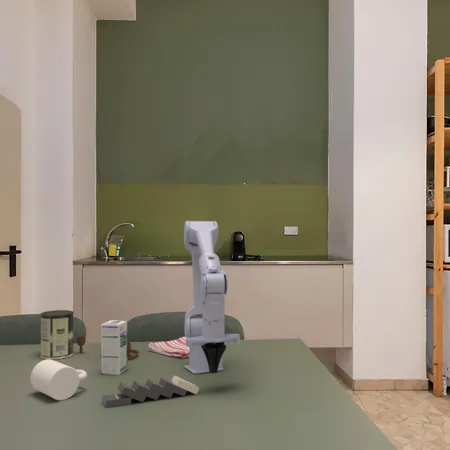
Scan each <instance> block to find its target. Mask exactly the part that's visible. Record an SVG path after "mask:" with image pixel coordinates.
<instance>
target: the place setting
mask: <svg viewBox="0 0 450 450" xmlns="http://www.w3.org/2000/svg"><path fill="white" fill-rule="evenodd" d="M76 338H77V339H76V340H77V342H76V343H77V345H78V346H79V353H80V354H83V351H84V349H83V346H85V345H86V344H85V343H86V337H85V336H78V337H76ZM80 354H79V355H80ZM130 354H132V355H131V356H128V355H130ZM139 354H141V355H143V352H141V351H140V350H138V349H132V343H131V342H129V341H127V362H128V361H131V360H135V359H137V358H138V356H139ZM89 358H91V357H88V359H89Z"/></svg>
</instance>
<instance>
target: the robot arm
mask: <svg viewBox="0 0 450 450" xmlns="http://www.w3.org/2000/svg"><path fill="white" fill-rule="evenodd" d="M218 238H219V225H218V223H217V221H216V220H213V221H203V220H202V221H201V220H196V221H195V220H190V221H189V220H186V221H185V222H184V225H183V242H184V243H183V244H184V249H185V250H186V251H188V252H190V256H191V262H192V263H191V265H192V289H193V290H192V291H193V293H192V296H193V306H191V307H190V308H189V309H188V310H187V311H185V314H184V326H183V327H184V337H187V338H186V346H187V347H189V358H188V360H189V362H188V363H189V364H187V365H184V368H185V369H186V370H188V371H189V372H191V373H192V374H194V375H196V374H204V373H211V374H217V373H218V372H220V371H224V367H223V358H224V357H223V355H224V353H225V351H226V350H227V345H224V343H226V344H227V343H241V334H239V333H225V315H226V312H225V311H226V310H225V309H226V307H225V306H226V305H225V301H226V300H225V299H226V297H225V296H226V295H227V293H228V287H229V286H228V277H227V274H226V272H225V270H222V266H221V261H220V257H219V256H218V255H217V254H216V253H215V252H214V251H215V246H216V245H217V241H218Z"/></svg>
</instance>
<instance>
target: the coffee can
mask: <svg viewBox="0 0 450 450" xmlns="http://www.w3.org/2000/svg"><path fill="white" fill-rule="evenodd" d="M72 356H74V311H73V310H67V309H64V310H62V309H59V310H58V309H57V310H47V311H43V312H40V359H43V360H47V359H50V360H54V361H56V360H62V359H63V358H64V359H68V358H70V357H72Z"/></svg>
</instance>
